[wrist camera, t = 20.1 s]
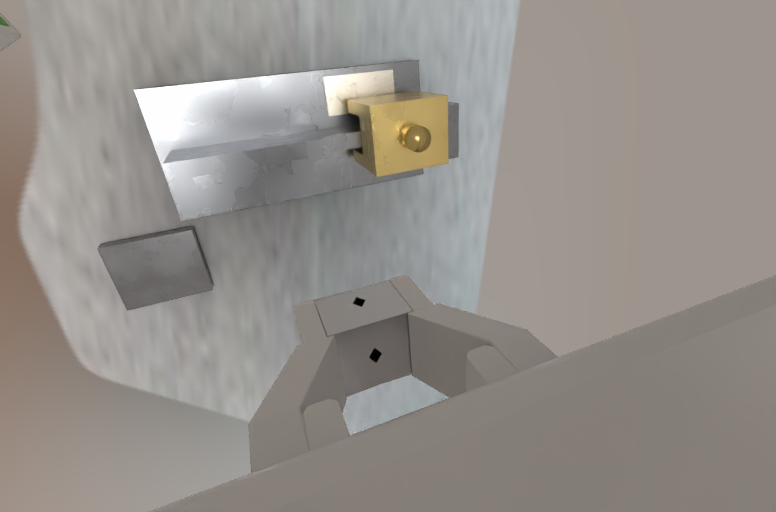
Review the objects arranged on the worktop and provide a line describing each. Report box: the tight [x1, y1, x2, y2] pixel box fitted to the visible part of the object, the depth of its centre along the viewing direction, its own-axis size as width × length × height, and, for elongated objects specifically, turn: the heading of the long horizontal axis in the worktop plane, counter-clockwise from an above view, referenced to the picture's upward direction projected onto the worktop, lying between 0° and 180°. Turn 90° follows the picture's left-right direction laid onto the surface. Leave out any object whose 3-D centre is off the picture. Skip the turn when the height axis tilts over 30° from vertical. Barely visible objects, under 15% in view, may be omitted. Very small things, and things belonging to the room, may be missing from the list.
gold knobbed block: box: [347, 91, 448, 177], centre depth 30 cm, size 5×6×7 cm
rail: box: [134, 60, 458, 221], centre depth 30 cm, size 10×22×8 cm, turn 95°
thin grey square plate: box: [98, 226, 213, 311], centre depth 34 cm, size 6×7×1 cm
